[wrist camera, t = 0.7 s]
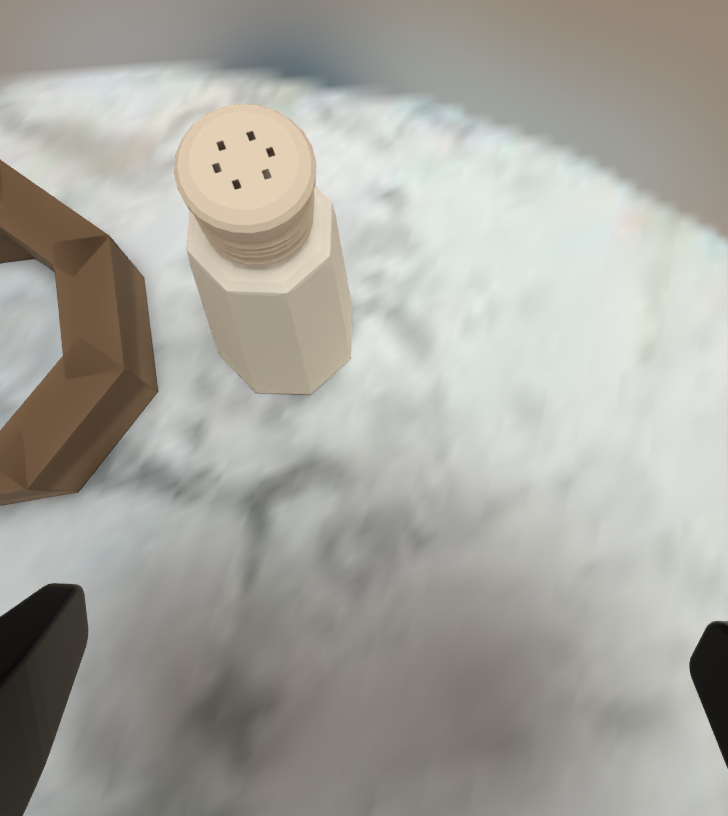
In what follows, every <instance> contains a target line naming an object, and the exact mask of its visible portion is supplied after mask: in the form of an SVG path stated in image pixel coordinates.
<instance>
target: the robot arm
mask: <svg viewBox="0 0 728 816" xmlns="http://www.w3.org/2000/svg"><path fill="white" fill-rule="evenodd" d="M87 640H88V622H87V613H86V604H85V595H84V591H83V589H82V587H81V586H79V585H76V584H59V583H52V584H48V585H46V586H44V587H42V588H41V589H39V590H38V591H37V592H35V593H34V594H32V595H31V596H29V597H28V598H27V599H25V600H24V601H22V602H21V603H19V604H18V605H16V606H15V607H14V608H12V609H11V610H9V611H8V612H6V613H5V614H4V615H2V616H1V617H0V816H23V814H24V812H25V810H26V807H27V805H28V803H29V801H30V799H31V796H32V794H33V792H34V790H35V788H36V785H37V783H38V781H39V778H40V776H41V774H42V771H43V769H44V767H45V764H46V761H47V759H48V756H49V753H50V750H51V748H52V745H53V742H54V739H55V736H56V733H57V730H58V727H59V724H60V721H61V718H62V716H63V713H64V710H65V707H66V704H67V701H68V698H69V695H70V692H71V689H72V686H73V683H74V680H75V677H76V675H77V672H78V669H79V666H80V663H81V660H82V657H83V654H84V651H85V648H86V644H87ZM689 668H690V674H691V677H692V680H693V683H694V685H695V688H696V690H697V693H698V695H699V698H700V700H701V703H702V705H703V708H704V710H705V713H706V715H707V718H708V720H709V723H710V725H711V728H712V730H713V733H714V735H715V738H716V740H717V743H718V745H719V748H720V751H721V753H722V756H723V758H724V761H725V763H726V766H727V768H728V621H713V622H711V623H710V624H709V625H708V626H707V627H706V629H705V631H704V633H703V635H702V637H701V638H700V640H699V642H698V644H697V646H696V648H695V650H694V652H693V654H692V656H691V658H690V663H689Z"/></svg>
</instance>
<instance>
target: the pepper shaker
mask: <svg viewBox="0 0 728 816" xmlns="http://www.w3.org/2000/svg"><path fill="white" fill-rule="evenodd" d="M174 174H175V179H176V184H177V188H178V191H179V192H180V194H181V196H182V198H183V200H184V202H185V204H186V205H187V207H188V209H189V210H190V213H189V226H188V239H187V253H188V258H189V262H190V266H191V269H192V272H193V276H194V279H195V282H196V285H197V288H198V291H199V294H200V297H201V300H202V303H203V306H204V309H205V312H206V316H207V319H208V322H209V325H210V328H211V331H212V334H213V337H214V340H215V343H216V346H217V349H218V352H219V354H220V355H221V356H222V357H223V359H224V360H225V361H226V362H227V363H228V364H229V365H230V366H231V367H232V368H233V369H234V370H235V371H236V372H237V373H238V374H239V375H240V376H241V377H242V379H243V380H244V381H245V382H246V383H247V384H248V385H249V386H250V387H251V388H252V389H253V390H254V391H255V392H256V393H282V394H312V393H313V392H314V391H315V390H317V389H318V388H319V387H320V386H321V385H322V384H323V383H324V382H325V381H326V380H327V379H329V378H330V377H331V376H332V375H333V374H334V373H335V372H336V371H337V370H338V369H339V368H341V367H342V366H343V365H344V364H345V363H346V362H347V361H348V360H349V359H350V358H351V332H352V303H351V298H350V292H349V287H348V281H347V276H346V270H345V265H344V259H343V253H342V248H341V242H340V237H339V231H338V226H337V220H336V215H335V212H334V208H333V205H332V202H331V201H330V200H329V199H328V198H327V197H326V196H325V195H324V194H323V193H322V192H321V191H320V190H319V189H318V188H317V187H316V186H315V183H316V160H315V156H314V152H313V148H312V145H311V144H310V142H309V140H308V139H307V137H306V135H305V133H304V132H303V131H302V130H301V129H300V128H299V127H298V126H297V125H296V124H295V123H294V122H293V121H292V120H291V119H289V118H288V117H286V116H284V115H282V114H281V113H279V112H277V111H275V110H272V109H268V108H265V107H262V106H258V105H245V104H238V105H233V106H227V107H222V108H220V109H218V110H215V111H213V112H211V113H209V114H207V115H205V116H204V117H203V118H201V119H200V120H199V121H198V122H196V123H195V124H194V125H192V127H191V128H190V129H189V131H188V132H187V133H186V135H185V136H184V137H183V138H182V140H181V143H180V145H179V148H178V150H177V153H176V155H175V168H174Z"/></svg>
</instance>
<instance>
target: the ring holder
mask: <svg viewBox="0 0 728 816" xmlns="http://www.w3.org/2000/svg"><path fill="white" fill-rule="evenodd" d="M33 258H36V259H37V260H38V261H40V262H41V263H43V264H44V265H45V266H47V267H48V268H50V269H51V270H53V271H54V272H55V278H56V288H57V298H58V308H59V319H60V329H61V339H62V349H63V356H62V358H61V359H60V360H59V361H58V362H57V364H56V365H55V366H54V367H53V368H52V370H51V371H50V372H49V373H48V374H47V376H46V377H45V378H44V379H43V380H42V381H41V383H40V384H39V385H38V386H37V387H36V389H35V390H34V391H33V392H32V393H31V395H30V396H29V397H28V398H27V399H26V401H25V402H24V403H23V404H22V405H21V407H20V408H19V409H18V410H17V411H16V412H15V414H14V415H13V416H12V417H11V418H10V420H9V421H8V422H7V423H6V424H5V426H4V427H3V428H2V429H1V430H0V506H1V505H7V504H12V503H18V502H24V501H30V500H35V499H41V498H47V497H53V496H59V495H64V494H70V493H78V492H79V491H80V489H81V488H82V487H83V485H84V484H85V483H86V482H87V480H88V479H89V478H90V477H91V475H92V474H93V473H94V472H95V470H96V469H97V468H98V467H99V465H100V464H101V463H102V462H103V460H104V459H105V458H106V456H107V455H108V454H109V453H110V451H111V450H112V449H113V448H114V446H115V445H116V444H117V443H118V441H119V440H120V439H121V438H122V436H123V435H124V434H125V432H126V431H127V430H128V429H129V427H130V426H131V425H132V424H133V422H134V421H135V420H136V419H137V417H138V416H139V415H140V414H141V412H142V411H143V410H144V408H145V407H146V406H147V405H148V403H149V402H150V401H151V400H152V398H153V397H154V396H155V395H156V393H157V392H158V387H157V379H156V371H155V363H154V355H153V347H152V339H151V331H150V323H149V315H148V307H147V298H146V290H145V282H144V277H143V276H142V274H141V273H140V272H139V271H138V270H137V268H136V267H135V266H134V265H133V264H132V262H131V261H130V260H129V259H128V257H127V256H126V255H125V254H124V253H123V251H122V250H121V249H120V248H119V247H118V245H117V244H116V243H115V242H114V240H113V239H112V238H111V237H110V236H109V235H108V234H106V233H105V232H103V231H102V230H100V229H99V228H98V227H96V226H95V225H93V224H92V223H90V222H89V221H87V220H86V219H85V218H83V217H82V216H80V215H79V214H77V213H76V212H75V211H73V210H72V209H70V208H69V207H67V206H66V205H65V204H63V203H62V202H60V201H59V200H57V199H56V198H54V197H53V196H52V195H50V194H49V193H47V192H46V191H44V190H43V189H42V188H40V187H39V186H37V185H36V184H34V183H33V182H31V181H30V180H29V179H27V178H26V177H24V176H23V175H21V174H20V173H19V172H17V171H16V170H14V169H13V168H11V167H10V166H9V165H7V164H6V163H4V162H3V161H1V160H0V263H4V262H11V261H18V260H26V259H33Z"/></svg>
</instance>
